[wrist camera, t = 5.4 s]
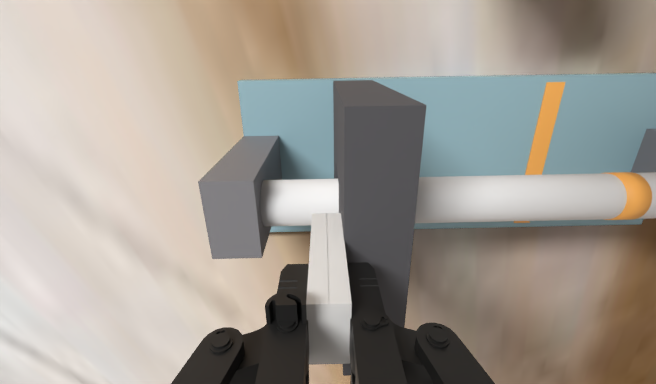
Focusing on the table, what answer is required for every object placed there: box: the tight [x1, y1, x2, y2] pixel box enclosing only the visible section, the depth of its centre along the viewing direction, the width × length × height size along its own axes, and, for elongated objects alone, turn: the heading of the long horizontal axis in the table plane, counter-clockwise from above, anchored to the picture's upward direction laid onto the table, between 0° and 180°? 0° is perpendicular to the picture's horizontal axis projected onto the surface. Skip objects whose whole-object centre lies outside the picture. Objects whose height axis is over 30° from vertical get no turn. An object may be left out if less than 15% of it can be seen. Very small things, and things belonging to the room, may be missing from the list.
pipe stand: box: [198, 73, 656, 259], centre depth 24 cm, size 38×14×12 cm, turn 91°
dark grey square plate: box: [333, 80, 427, 375], centre depth 21 cm, size 3×14×14 cm, turn 1°
